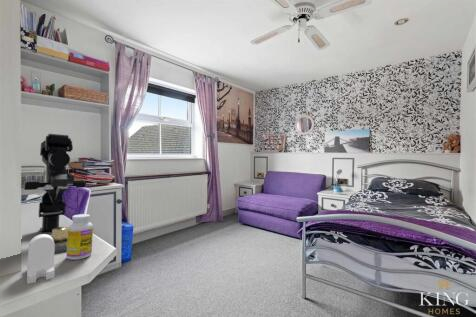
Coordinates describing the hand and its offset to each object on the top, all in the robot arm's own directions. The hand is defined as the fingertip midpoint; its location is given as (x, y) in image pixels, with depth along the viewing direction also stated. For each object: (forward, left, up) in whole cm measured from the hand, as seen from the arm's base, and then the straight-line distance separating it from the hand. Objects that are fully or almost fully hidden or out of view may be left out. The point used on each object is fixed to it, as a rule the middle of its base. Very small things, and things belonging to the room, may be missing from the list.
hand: (55, 206), depth 92 cm
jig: (+12, 0, -12) cm, 17 cm away
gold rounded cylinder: (+12, 0, -12) cm, 17 cm away
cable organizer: (+33, -8, -12) cm, 36 cm away
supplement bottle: (+27, +2, -12) cm, 30 cm away
